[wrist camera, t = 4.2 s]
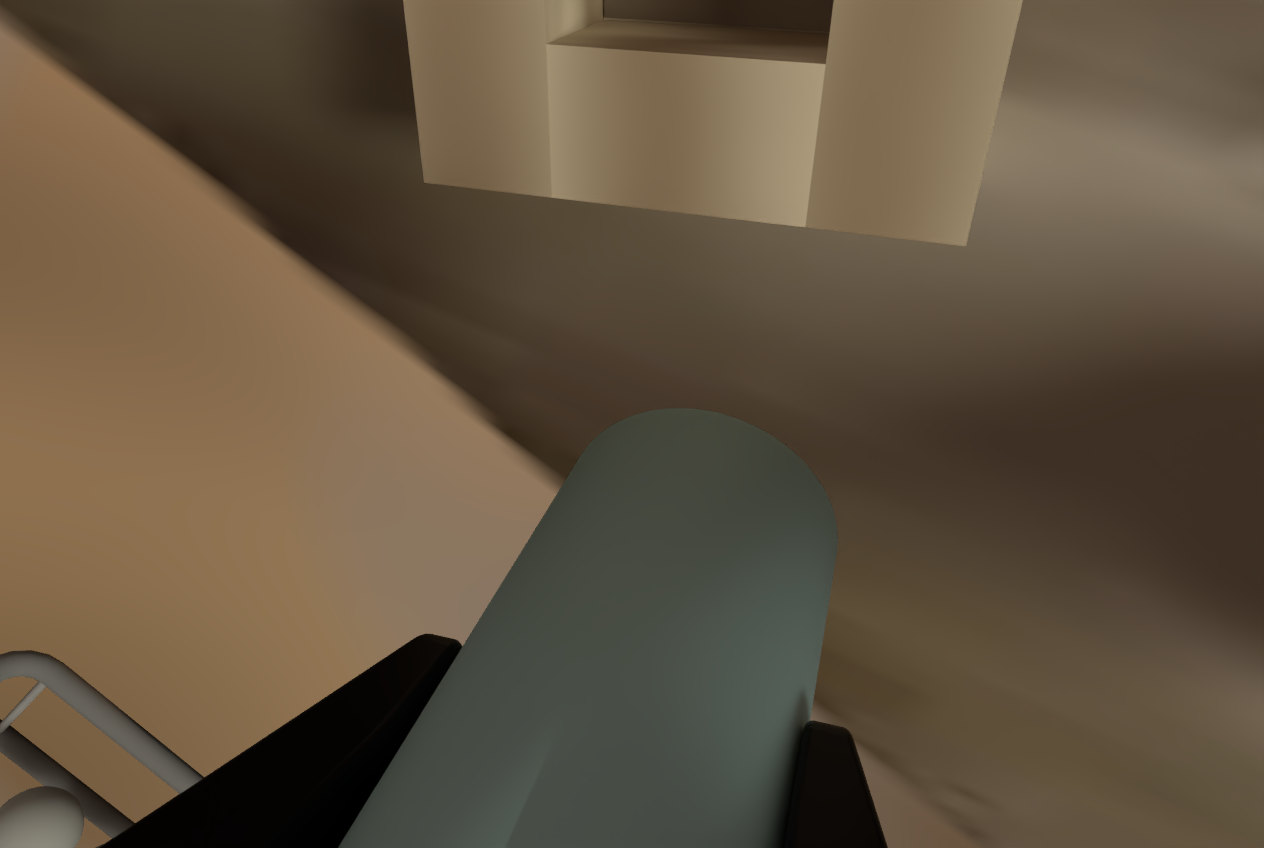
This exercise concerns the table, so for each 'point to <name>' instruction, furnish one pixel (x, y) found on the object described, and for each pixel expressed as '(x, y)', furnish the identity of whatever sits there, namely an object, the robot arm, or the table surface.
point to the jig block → (719, 105)
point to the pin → (633, 658)
